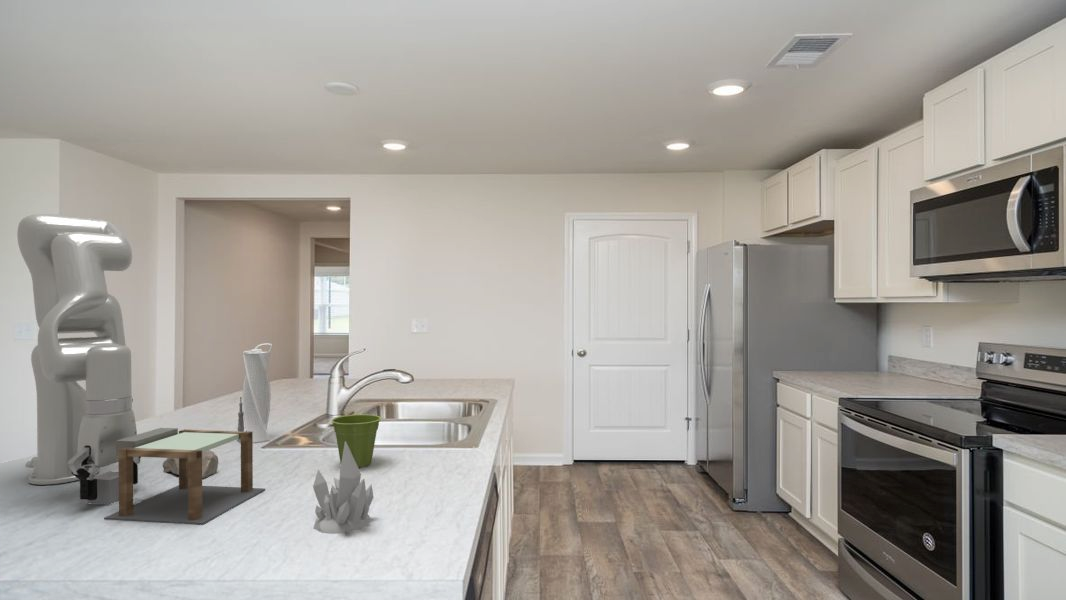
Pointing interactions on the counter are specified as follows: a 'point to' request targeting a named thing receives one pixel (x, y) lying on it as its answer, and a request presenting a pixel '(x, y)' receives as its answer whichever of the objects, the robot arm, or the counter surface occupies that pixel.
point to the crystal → (343, 499)
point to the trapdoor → (175, 440)
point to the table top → (175, 505)
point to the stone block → (107, 488)
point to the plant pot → (357, 436)
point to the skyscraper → (255, 395)
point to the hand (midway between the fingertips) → (110, 491)
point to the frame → (182, 471)
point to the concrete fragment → (207, 464)
